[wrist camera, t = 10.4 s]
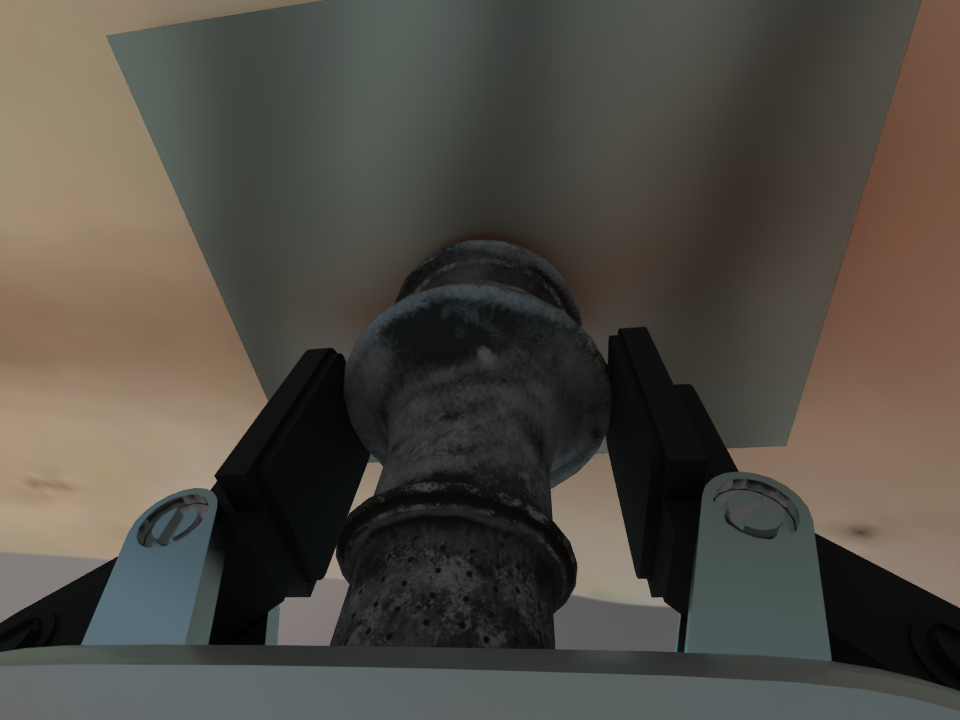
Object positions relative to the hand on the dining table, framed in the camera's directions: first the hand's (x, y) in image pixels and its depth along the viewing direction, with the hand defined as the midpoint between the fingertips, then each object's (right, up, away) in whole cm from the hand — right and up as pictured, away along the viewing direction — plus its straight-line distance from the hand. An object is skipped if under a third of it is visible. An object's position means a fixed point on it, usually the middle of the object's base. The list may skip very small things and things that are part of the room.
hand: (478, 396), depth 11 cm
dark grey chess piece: (0, +2, +3) cm, 3 cm away
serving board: (+1, +4, +4) cm, 6 cm away
